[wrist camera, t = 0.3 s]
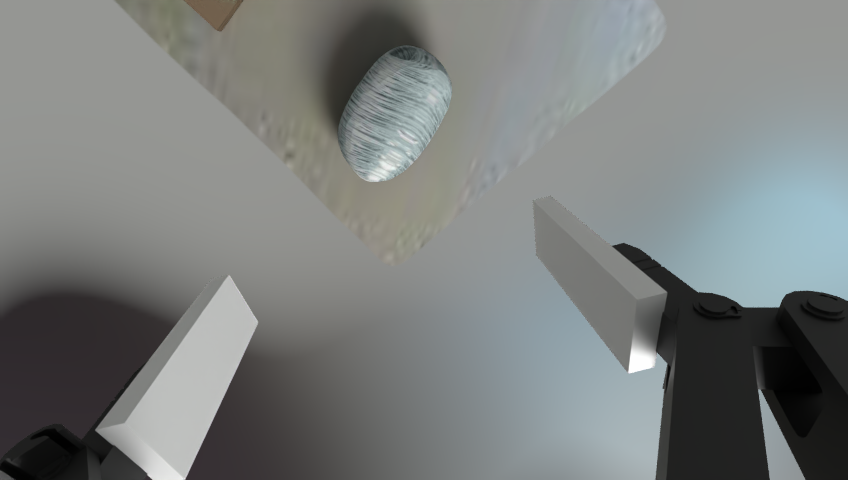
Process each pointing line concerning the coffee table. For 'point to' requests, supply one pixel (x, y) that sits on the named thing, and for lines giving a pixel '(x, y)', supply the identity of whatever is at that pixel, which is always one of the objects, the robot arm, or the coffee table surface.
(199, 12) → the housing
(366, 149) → the spool
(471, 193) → the coffee table surface
